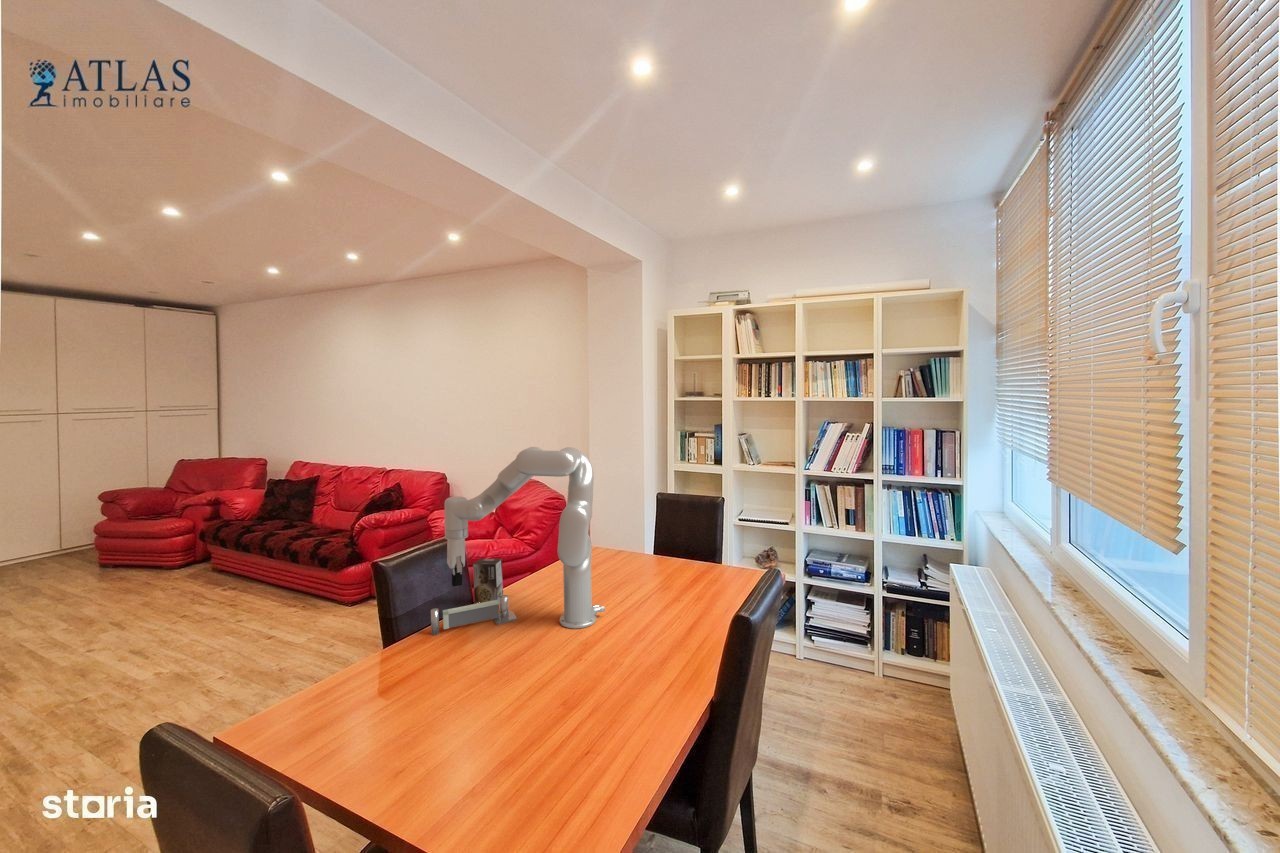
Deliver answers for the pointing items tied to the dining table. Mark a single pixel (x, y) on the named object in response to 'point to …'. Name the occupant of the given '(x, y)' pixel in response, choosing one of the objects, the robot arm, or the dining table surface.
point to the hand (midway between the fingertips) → (457, 585)
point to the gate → (470, 614)
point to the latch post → (435, 621)
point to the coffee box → (488, 580)
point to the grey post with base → (505, 612)
